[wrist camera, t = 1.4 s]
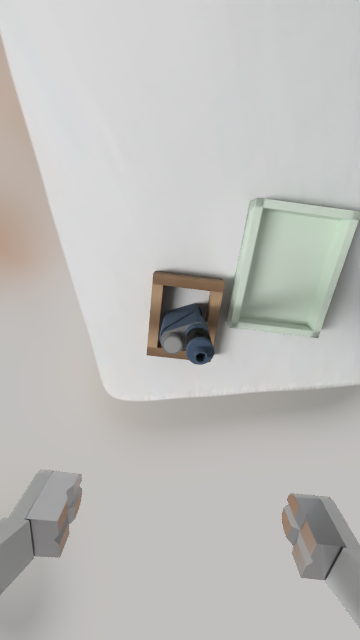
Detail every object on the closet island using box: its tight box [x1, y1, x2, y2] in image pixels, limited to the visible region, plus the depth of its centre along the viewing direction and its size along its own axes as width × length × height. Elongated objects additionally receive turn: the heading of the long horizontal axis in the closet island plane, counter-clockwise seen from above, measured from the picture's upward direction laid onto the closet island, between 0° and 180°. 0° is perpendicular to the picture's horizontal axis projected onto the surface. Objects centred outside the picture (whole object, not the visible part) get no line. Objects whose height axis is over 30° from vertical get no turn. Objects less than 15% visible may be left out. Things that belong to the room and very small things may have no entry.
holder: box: [147, 271, 225, 362], centre depth 29 cm, size 10×8×2 cm
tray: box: [226, 198, 360, 338], centre depth 27 cm, size 14×11×2 cm
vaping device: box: [159, 304, 214, 364], centre depth 24 cm, size 3×5×12 cm, turn 107°
